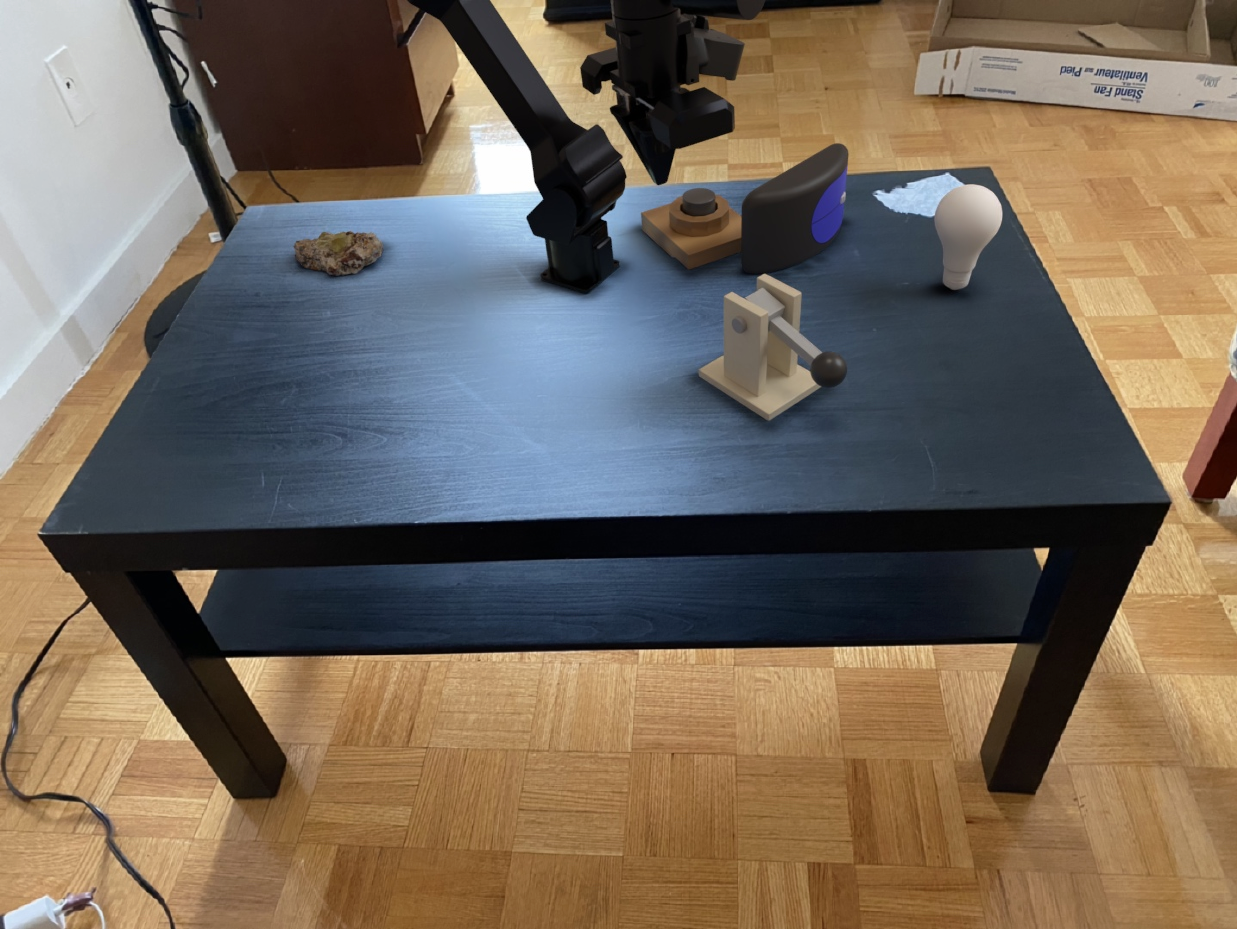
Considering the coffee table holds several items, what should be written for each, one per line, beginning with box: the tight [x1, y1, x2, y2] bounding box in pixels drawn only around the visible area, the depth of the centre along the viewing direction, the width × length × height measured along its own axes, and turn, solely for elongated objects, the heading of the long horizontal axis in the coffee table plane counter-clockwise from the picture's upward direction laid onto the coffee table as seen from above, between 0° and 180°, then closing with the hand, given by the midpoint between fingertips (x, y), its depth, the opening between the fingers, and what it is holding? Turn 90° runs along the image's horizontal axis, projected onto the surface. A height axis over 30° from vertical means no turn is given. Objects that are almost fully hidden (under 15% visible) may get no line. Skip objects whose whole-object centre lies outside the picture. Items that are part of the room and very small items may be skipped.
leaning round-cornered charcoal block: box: [740, 142, 850, 275], centre depth 101 cm, size 16×5×9 cm, turn 134°
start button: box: [681, 187, 716, 217], centre depth 104 cm, size 4×4×2 cm
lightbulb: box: [933, 183, 1003, 291], centre depth 93 cm, size 6×6×11 cm
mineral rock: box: [293, 230, 385, 277], centre depth 110 cm, size 11×4×8 cm
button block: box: [640, 193, 742, 270], centre depth 106 cm, size 11×9×4 cm
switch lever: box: [744, 288, 848, 389], centre depth 81 cm, size 11×3×3 cm, turn 39°
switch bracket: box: [698, 273, 822, 422], centre depth 84 cm, size 9×7×10 cm
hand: (660, 183), depth 90 cm, fingers closed
